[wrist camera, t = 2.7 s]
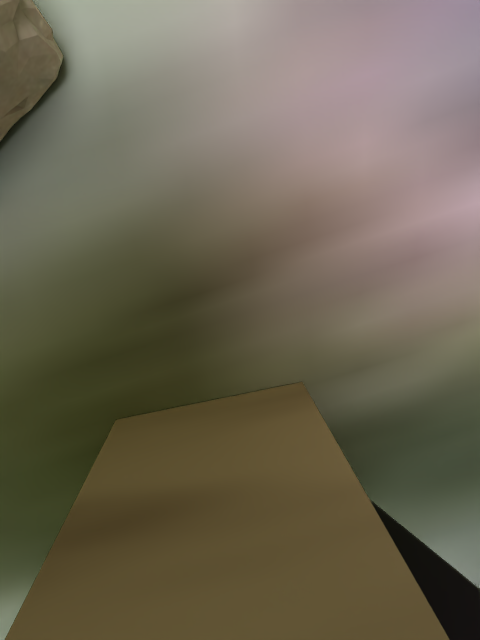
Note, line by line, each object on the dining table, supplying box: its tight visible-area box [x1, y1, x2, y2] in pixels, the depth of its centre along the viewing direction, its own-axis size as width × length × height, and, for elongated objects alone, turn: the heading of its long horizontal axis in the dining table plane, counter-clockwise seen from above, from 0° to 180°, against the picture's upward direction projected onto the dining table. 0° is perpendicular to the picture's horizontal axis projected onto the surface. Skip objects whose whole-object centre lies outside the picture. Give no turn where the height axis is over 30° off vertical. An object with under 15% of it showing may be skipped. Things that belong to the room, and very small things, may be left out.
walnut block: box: [5, 382, 449, 640], centre depth 6 cm, size 5×5×6 cm
